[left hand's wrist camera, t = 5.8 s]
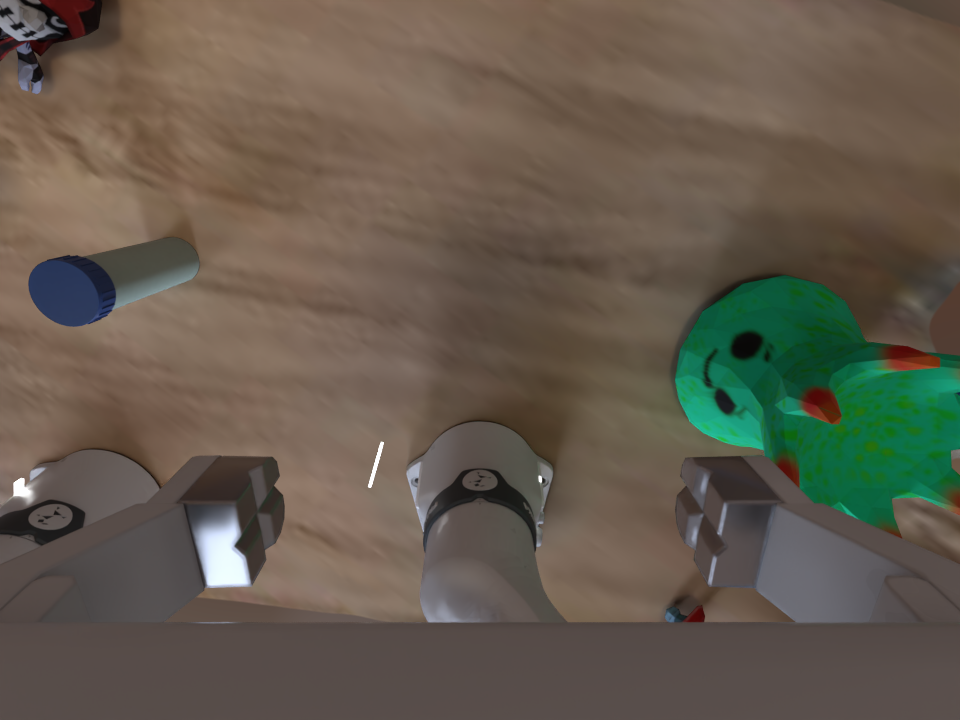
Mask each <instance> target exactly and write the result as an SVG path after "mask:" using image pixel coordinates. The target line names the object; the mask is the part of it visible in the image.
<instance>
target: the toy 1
mask: <svg viewBox="0 0 960 720" xmlns="http://www.w3.org/2000/svg"><path fill="white" fill-rule="evenodd" d="M101 7H102V2H101V0H0V61H1V60H2V59H3V58H4V57H5V56H6V54H7V53H8V52H9V51H11V50H13V49H15V48H17V54H18V81H19V84H20V86H21V88H22V90H26V91H29V87H30V86H29V82H30V80H31V86H32V92H33V93H35V94H38V93H39V92H40V91H41V87H42V82H43V76H44V75H43V72H42V69H41V67H40V65H39V63H38V61H37V59H36V56H35V54H34V52H36V53H37V54H38V55H39V56H41V55H42V54H43V53H44V52H45V51H46V50H47V49H48V48H49V47H50V46H51V45H52V44H53V43H58V42H63V41H67V40H72V39H76V38H79V37H82V36H86V35H88V34H90V33H91V32H93V31H95V30H96V29H98V28H99V21H100V14H101ZM4 37H8V38H5V39H3V38H4ZM33 51H34V52H33Z"/></svg>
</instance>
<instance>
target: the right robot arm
mask: <svg viewBox="0 0 960 720" xmlns="http://www.w3.org/2000/svg"><path fill="white" fill-rule="evenodd" d="M159 490H160V488H159V487H158V485H157V483H156V482H155V480H154V479H153V478H152V477H151V475H150V474H149V473H148V472H147V471H146V470H144V469H143V468H142V467H141V466H140V465H138V464H137V463H135V462H134V461H132V460H130V459H128V458H126V457H124V456H122V455H119V454H116V453H113V452H109V451H104V450H82V451H78V452H75V453H72V454H70V455H68V456H66V457H65V458H63V459H61V460H59V461H57V462H49V463H42V464H39V465H37V466H36V467H35V468H33V469H32V470H31V471H30V482H29V483H28V484H26V485H25V486H24V479H22V478H21V479H19V480H18V481H16V482H15V483H14V495H13V496H12V497H11V498H10V499H8V500H7V501H6V502H5V503H4V504H2V505H1V506H0V564H2V563H4V562H6V561H9V560H11V559H13V558H15V557H18V556H20V555H22V554H24V553H27V552H29V551H31V550H33V549H36V548H38V547H40V546H42V545H45V544H47V543H49V542H51V541H54V540H56V539H58V538H60V537H63V536H65V535H67V534H69V533H72V532H74V531H76V530H78V529H81V528H83V527H85V526H87V525H90V524H92V523H94V522H96V521H99V520H101V519H103V518H105V517H108V516H110V515H112V514H114V513H117V512H119V511H121V510H123V509H126V508H128V507H130V506H132V505H135V504H137V503H146V502H147V501H148V500H149V499H151V498H152V497H153V496H154V495H155V494H156V493H157V492H158V491H159Z"/></svg>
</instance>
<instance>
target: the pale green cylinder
mask: <svg viewBox="0 0 960 720" xmlns="http://www.w3.org/2000/svg"><path fill="white" fill-rule="evenodd" d="M85 257H86V258H87V259H89V260H92V261H94V262H95V263H97V264H98V265H99V266H101V267H102V268H103V269H104V270H105V271H106V272H107V274H108V275H109V276H110V278H111V280H112V281H113V284H114V287H115V291H116V302H115V305H114V307H113V309H116V308H119V307H121V306H124V305H126V304H129V303H131V302H134V301H137V300H139V299H142V298H144V297H147V296H149V295H152V294H155V293H157V292H160V291H162V290H165V289H168V288H170V287H173V286H175V285H178V284H180V283H183V282H186V281H188V280H190V279H192V278H193V277H194V276H195V275H196V274H197V272H198V269H199V258H198V255H197V253H196V251H195V250H194V248H193V247H192V246H191V245H190V244H189V243H187V242H186V241H184V240H182V239H180V238H176V237H169V238H164V239H160V240H155V241H151V242H146V243H142V244H137V245H133V246H129V247H124V248H120V249H115V250H111V251H106V252H102V253H97V254H93V255H89V256H84V258H85ZM113 309H112V310H113Z"/></svg>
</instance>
